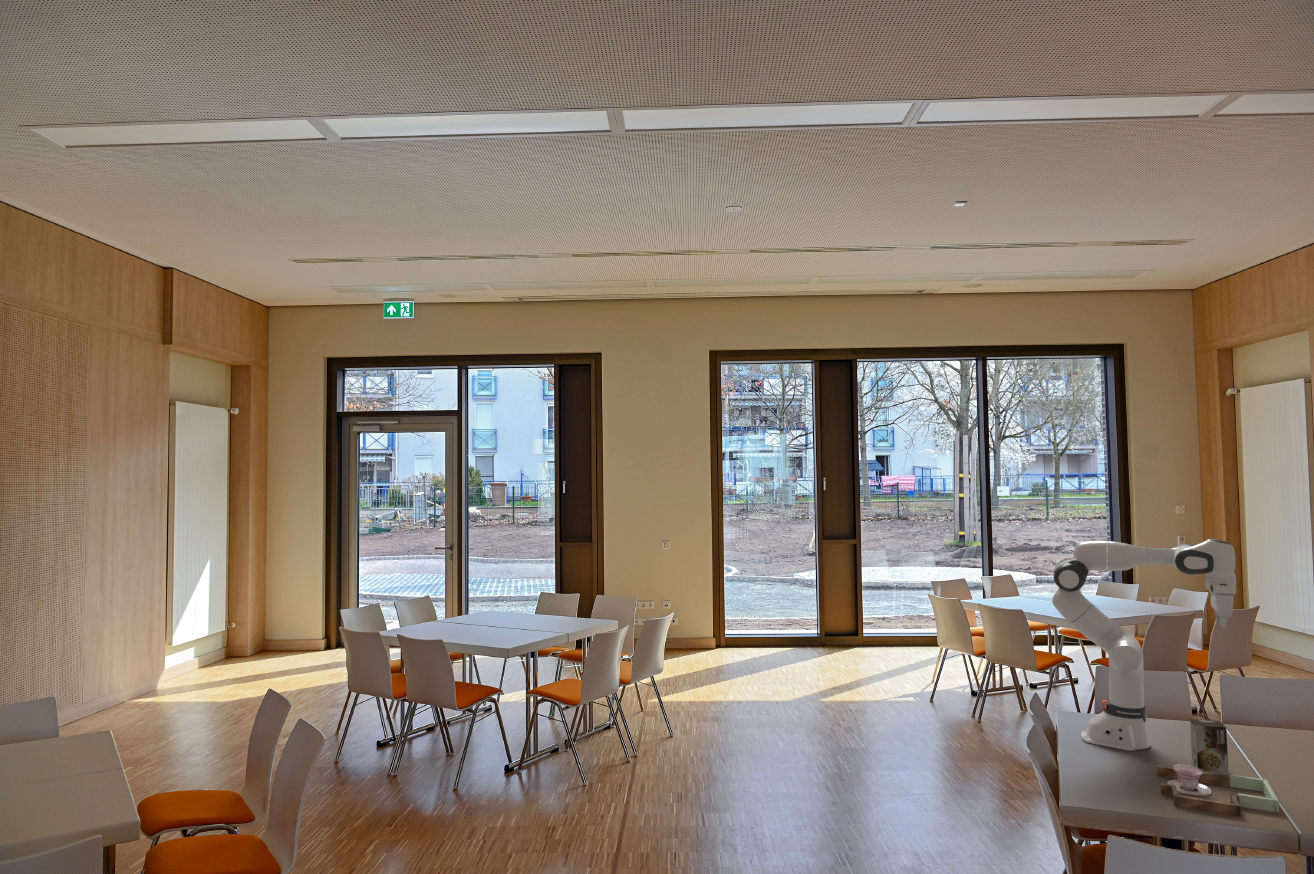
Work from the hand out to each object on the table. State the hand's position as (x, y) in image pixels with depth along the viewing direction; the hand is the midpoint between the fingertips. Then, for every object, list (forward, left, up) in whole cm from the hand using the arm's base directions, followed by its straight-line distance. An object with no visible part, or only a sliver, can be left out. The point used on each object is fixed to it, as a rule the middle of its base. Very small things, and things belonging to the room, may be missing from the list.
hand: (1221, 624), depth 280 cm
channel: (-13, -40, -46) cm, 63 cm away
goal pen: (+2, -36, -46) cm, 59 cm away
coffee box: (-7, -16, -47) cm, 50 cm away
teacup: (-14, -36, -47) cm, 61 cm away
